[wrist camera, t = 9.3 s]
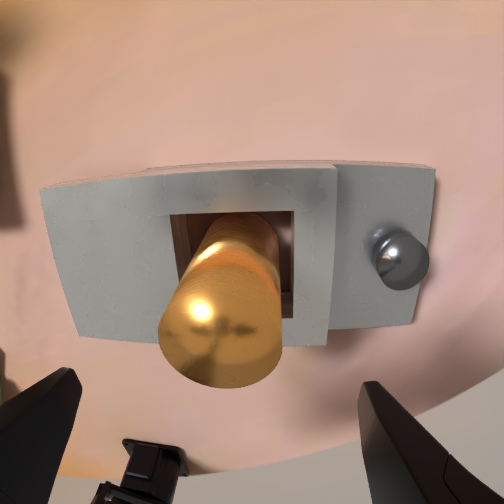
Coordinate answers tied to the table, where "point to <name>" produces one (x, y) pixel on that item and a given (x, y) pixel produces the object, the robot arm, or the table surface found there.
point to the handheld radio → (0, 392)
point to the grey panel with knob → (245, 200)
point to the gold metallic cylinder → (227, 306)
